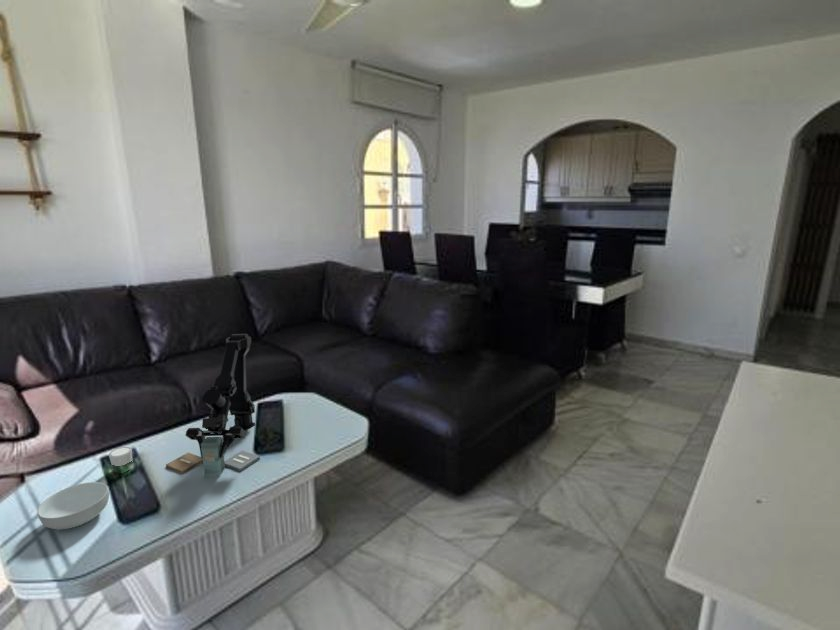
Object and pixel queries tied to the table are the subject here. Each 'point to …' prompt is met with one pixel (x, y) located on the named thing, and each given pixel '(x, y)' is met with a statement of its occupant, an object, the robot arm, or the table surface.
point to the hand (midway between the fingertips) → (211, 457)
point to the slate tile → (241, 460)
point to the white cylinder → (121, 456)
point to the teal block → (212, 457)
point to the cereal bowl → (73, 505)
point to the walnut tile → (185, 463)
